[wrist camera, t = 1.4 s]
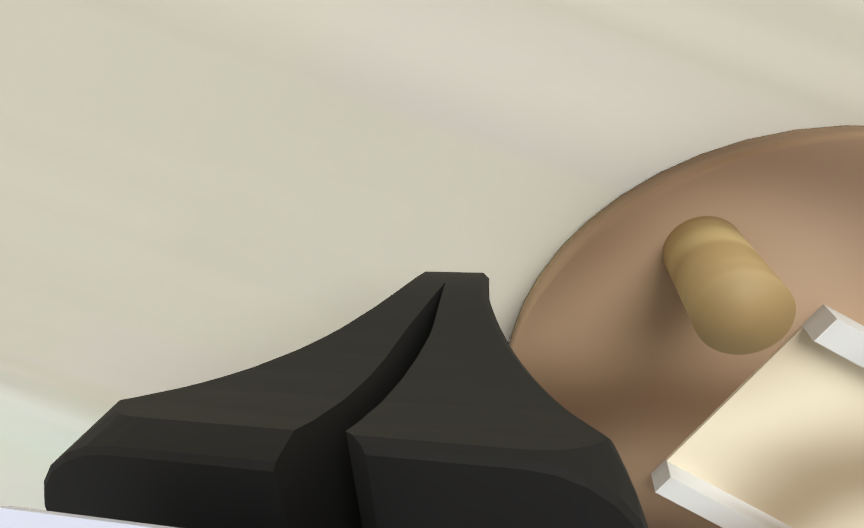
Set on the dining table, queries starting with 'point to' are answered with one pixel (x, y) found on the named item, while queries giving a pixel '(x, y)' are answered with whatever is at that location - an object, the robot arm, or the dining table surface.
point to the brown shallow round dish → (720, 333)
